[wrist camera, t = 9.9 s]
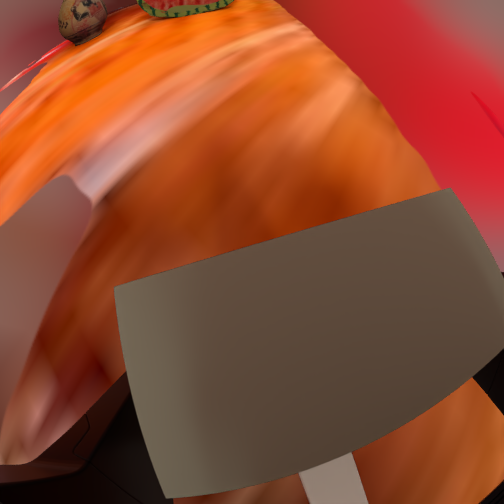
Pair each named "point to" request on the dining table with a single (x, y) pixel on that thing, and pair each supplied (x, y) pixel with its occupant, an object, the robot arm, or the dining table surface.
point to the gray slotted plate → (307, 342)
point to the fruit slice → (180, 7)
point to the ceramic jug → (82, 19)
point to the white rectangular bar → (334, 482)
